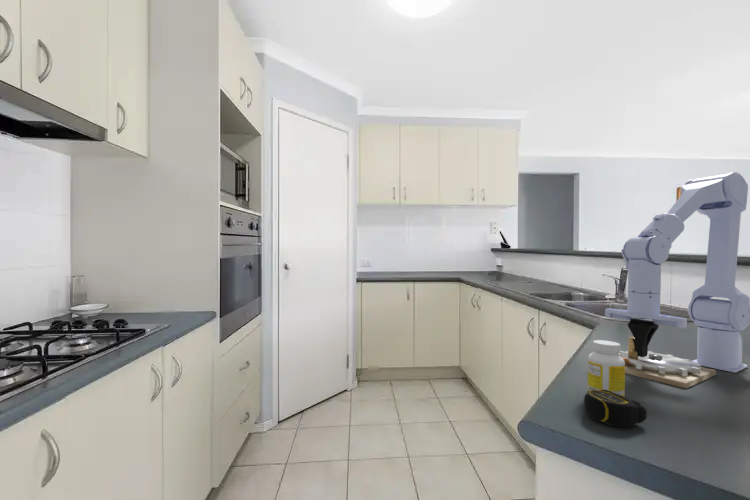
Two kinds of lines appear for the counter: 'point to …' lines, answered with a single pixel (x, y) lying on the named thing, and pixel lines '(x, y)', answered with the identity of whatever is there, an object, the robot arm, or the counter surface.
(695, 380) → the sprocket base
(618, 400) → the tape measure
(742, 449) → the counter surface
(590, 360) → the supplement bottle
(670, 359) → the sprocket
